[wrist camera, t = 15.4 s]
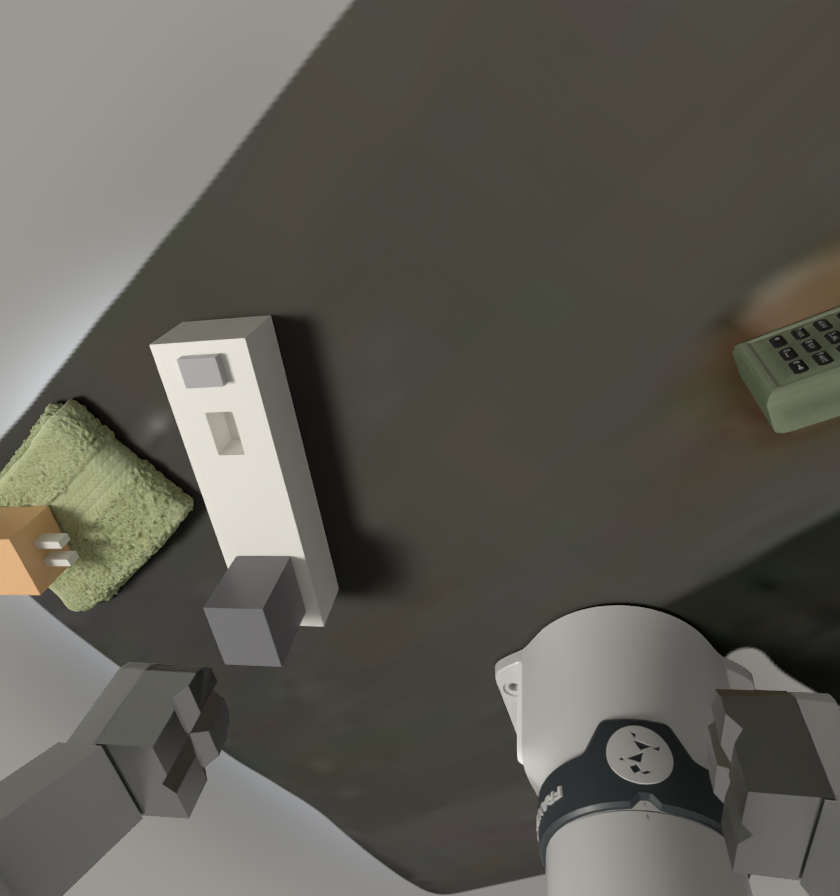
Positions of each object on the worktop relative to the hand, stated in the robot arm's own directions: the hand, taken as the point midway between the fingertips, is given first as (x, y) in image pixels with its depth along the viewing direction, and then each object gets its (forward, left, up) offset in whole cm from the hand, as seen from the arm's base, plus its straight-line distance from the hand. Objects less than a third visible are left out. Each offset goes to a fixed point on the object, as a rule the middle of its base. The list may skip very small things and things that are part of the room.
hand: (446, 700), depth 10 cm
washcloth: (-16, +34, -30) cm, 48 cm away
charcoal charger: (-20, +18, -27) cm, 38 cm away
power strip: (-13, +18, -29) cm, 37 cm away
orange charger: (-17, +33, -25) cm, 44 cm away
